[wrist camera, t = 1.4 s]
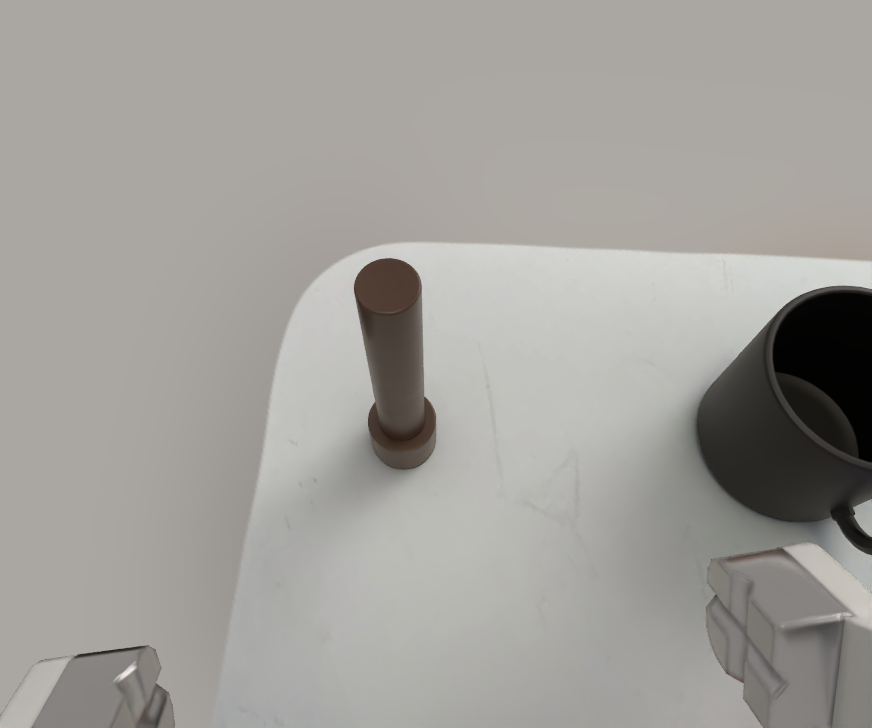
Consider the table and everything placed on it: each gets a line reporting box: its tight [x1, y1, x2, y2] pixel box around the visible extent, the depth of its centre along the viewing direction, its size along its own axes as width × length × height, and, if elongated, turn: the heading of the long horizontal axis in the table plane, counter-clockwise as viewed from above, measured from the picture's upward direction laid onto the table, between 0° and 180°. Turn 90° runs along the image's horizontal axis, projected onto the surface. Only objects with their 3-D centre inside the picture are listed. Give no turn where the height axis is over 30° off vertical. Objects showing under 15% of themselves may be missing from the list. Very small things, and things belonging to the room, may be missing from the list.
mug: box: [697, 286, 872, 555], centre depth 34 cm, size 9×12×9 cm
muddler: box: [354, 258, 436, 469], centre depth 31 cm, size 4×4×16 cm
